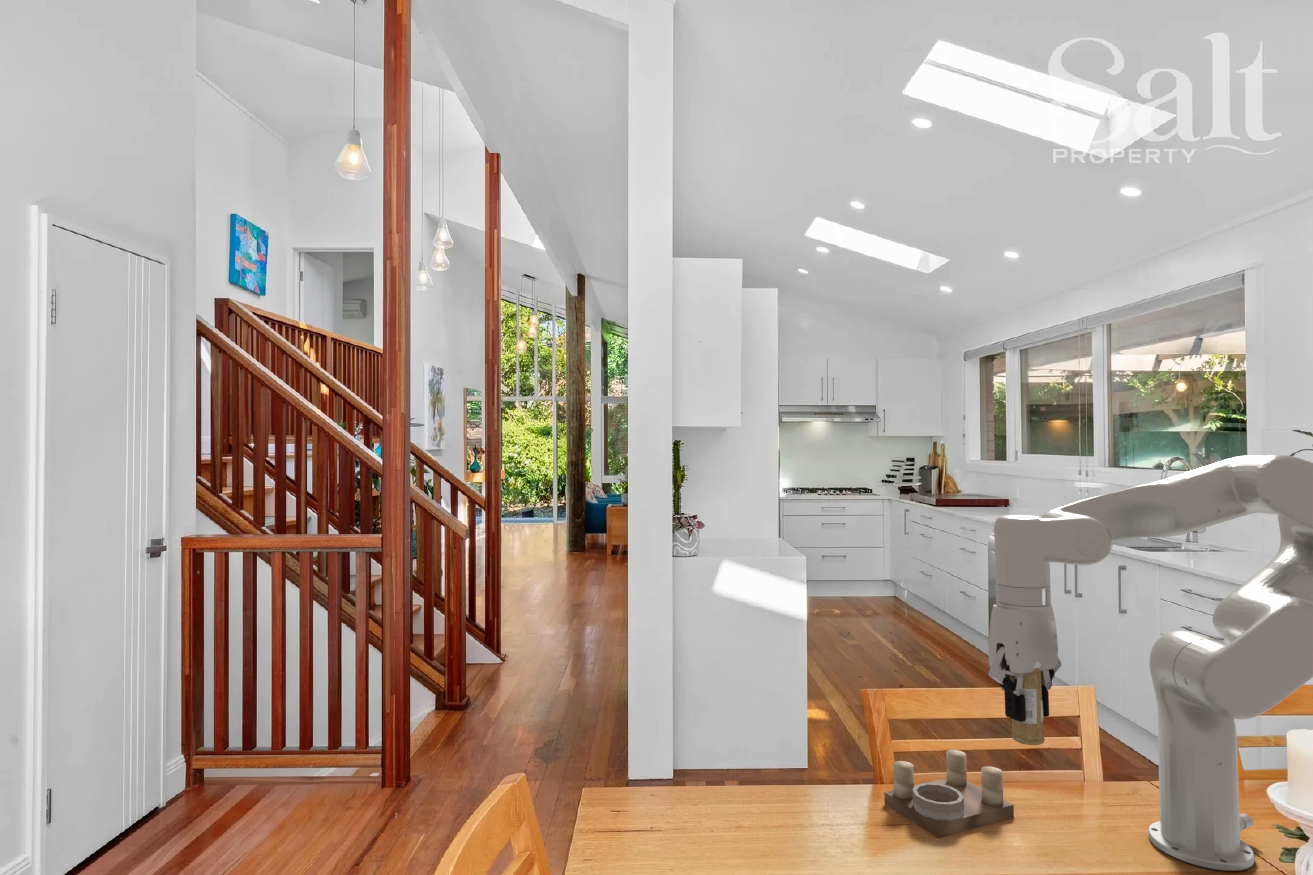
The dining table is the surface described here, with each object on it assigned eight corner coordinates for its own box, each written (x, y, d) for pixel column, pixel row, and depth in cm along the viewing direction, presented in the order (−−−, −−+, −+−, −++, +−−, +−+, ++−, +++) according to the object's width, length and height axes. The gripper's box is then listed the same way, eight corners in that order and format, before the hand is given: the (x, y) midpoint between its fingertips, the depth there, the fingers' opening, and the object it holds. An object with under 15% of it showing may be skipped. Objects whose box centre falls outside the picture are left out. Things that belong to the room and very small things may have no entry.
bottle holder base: (956, 786, 130) (956, 746, 130) (1013, 817, 118) (1012, 773, 119) (884, 804, 123) (883, 762, 123) (937, 837, 112) (937, 791, 112)
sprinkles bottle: (1050, 741, 111) (1047, 652, 112) (1034, 748, 109) (1030, 657, 109) (1021, 732, 115) (1018, 646, 115) (1004, 739, 112) (1001, 651, 113)
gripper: (1040, 587, 119) (1044, 701, 119) (962, 597, 113) (966, 717, 112) (1083, 595, 112) (1088, 715, 112) (1003, 605, 106) (1007, 733, 105)
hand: (1027, 715), depth 112 cm, fingers closed on sprinkles bottle, 4 cm apart
